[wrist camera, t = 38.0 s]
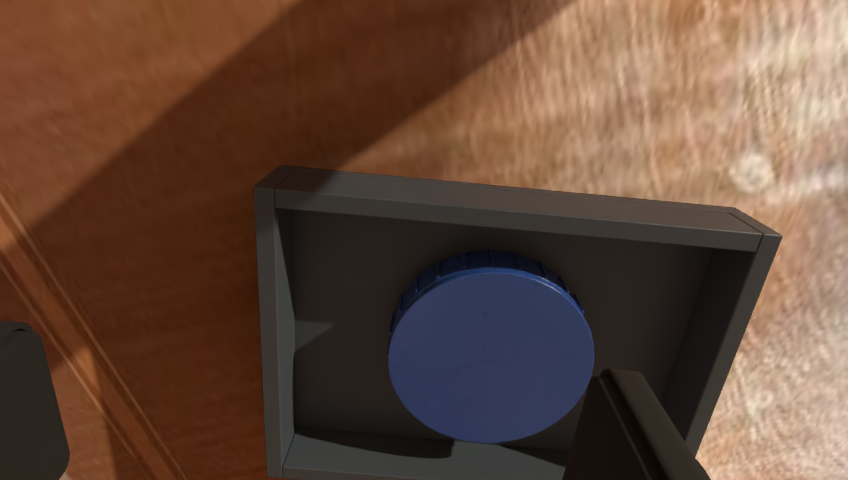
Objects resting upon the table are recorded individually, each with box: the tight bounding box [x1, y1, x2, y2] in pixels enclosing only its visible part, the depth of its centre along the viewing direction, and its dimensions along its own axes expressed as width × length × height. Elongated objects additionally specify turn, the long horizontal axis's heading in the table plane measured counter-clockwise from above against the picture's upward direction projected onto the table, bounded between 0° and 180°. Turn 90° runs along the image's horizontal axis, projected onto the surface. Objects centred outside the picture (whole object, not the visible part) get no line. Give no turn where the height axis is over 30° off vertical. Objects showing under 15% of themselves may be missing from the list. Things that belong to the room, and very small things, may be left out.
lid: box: [387, 249, 594, 443], centre depth 17 cm, size 7×7×2 cm
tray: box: [254, 166, 782, 480], centre depth 17 cm, size 15×11×2 cm
